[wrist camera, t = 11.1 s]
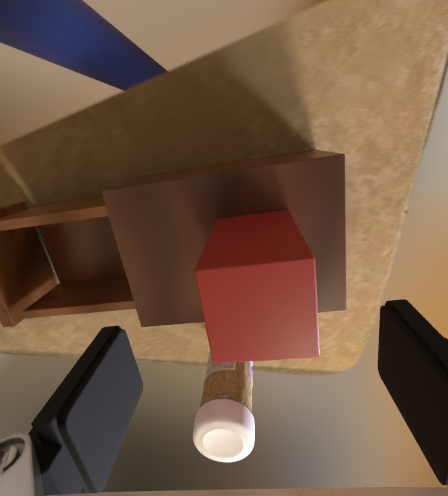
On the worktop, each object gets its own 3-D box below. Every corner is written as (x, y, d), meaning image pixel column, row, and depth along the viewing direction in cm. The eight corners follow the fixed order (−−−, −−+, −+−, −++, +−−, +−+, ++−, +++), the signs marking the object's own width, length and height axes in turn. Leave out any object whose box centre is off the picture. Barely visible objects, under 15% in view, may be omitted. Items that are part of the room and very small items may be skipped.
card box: (226, 282, 22) (212, 364, 14) (215, 218, 20) (193, 270, 12) (294, 275, 21) (320, 357, 13) (288, 209, 19) (315, 257, 11)
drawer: (18, 294, 33) (-36, 330, 27) (-21, 208, 30) (-93, 226, 23) (181, 277, 30) (163, 313, 24) (159, 181, 27) (131, 193, 21)
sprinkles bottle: (257, 341, 33) (261, 462, 21) (219, 348, 34) (202, 468, 22) (247, 308, 32) (246, 417, 19) (209, 316, 33) (183, 425, 20)
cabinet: (168, 280, 32) (141, 327, 24) (142, 176, 28) (100, 191, 20) (321, 265, 29) (346, 310, 22) (316, 149, 26) (345, 153, 18)
